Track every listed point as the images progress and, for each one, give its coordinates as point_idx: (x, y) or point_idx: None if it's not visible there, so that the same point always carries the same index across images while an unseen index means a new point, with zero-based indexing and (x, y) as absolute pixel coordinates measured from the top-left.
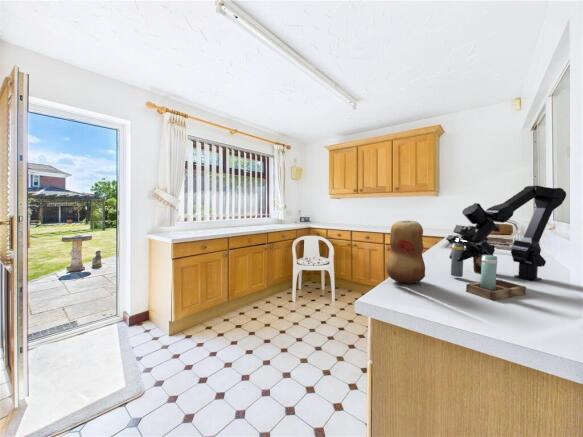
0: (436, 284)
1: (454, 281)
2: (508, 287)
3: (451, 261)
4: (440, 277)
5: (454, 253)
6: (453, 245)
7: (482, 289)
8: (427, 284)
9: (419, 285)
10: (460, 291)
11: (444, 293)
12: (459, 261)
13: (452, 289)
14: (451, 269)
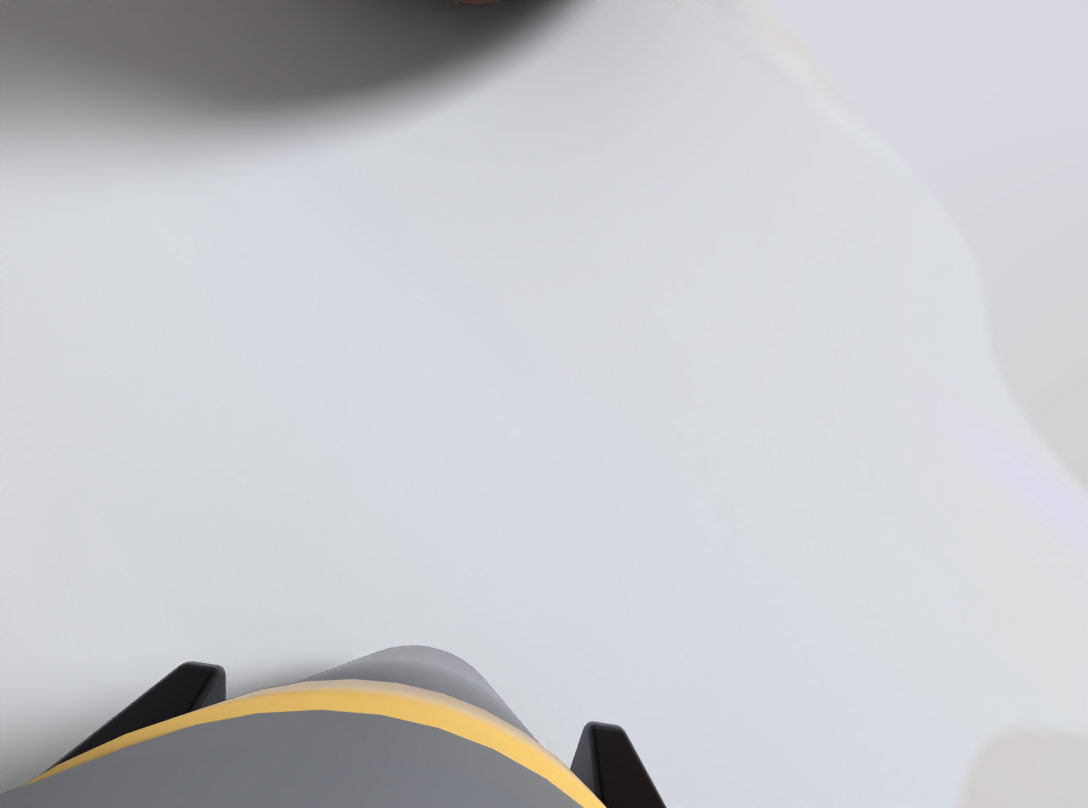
0: (365, 261)
1: None
2: None
3: (483, 684)
4: (635, 611)
5: (317, 679)
6: (330, 716)
7: None
8: (405, 154)
9: (405, 40)
10: (5, 324)
11: (54, 76)
12: None
13: (116, 291)
14: (456, 660)
